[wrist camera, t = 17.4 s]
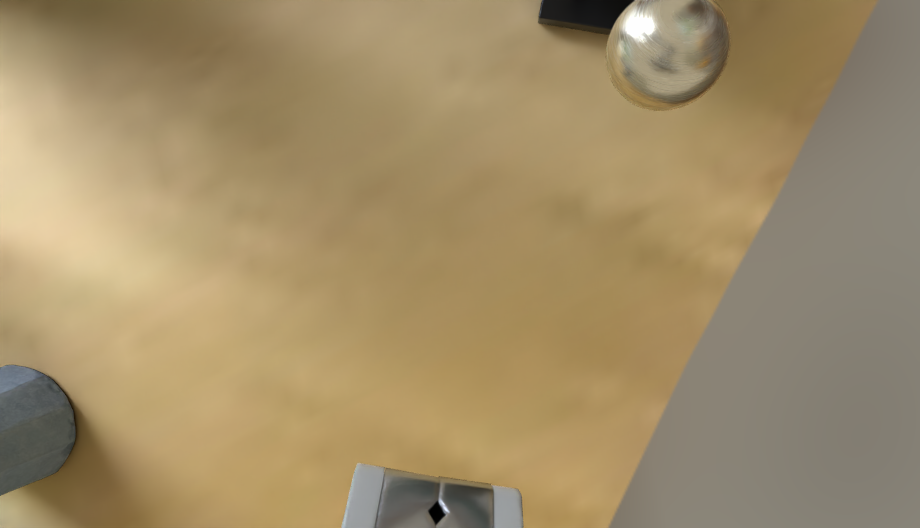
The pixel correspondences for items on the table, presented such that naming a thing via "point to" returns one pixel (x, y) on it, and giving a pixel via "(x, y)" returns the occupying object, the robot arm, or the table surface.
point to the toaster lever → (667, 51)
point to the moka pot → (32, 427)
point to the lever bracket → (582, 14)
